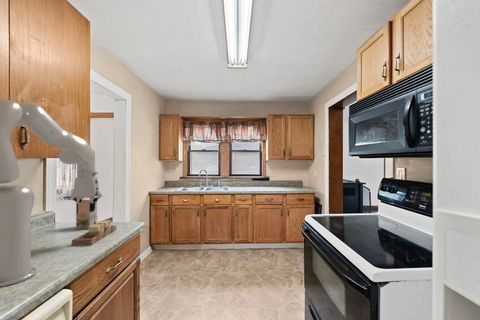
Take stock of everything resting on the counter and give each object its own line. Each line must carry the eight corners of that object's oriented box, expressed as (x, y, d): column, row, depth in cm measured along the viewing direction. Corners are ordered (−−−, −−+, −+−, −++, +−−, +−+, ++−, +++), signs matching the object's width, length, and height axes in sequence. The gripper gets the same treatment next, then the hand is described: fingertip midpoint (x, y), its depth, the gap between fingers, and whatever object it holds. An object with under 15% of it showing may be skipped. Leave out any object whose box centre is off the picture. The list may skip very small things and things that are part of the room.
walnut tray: (91, 245, 114) (91, 232, 114) (71, 245, 113) (71, 232, 113) (116, 229, 139) (116, 219, 139) (100, 230, 138) (100, 219, 138)
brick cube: (88, 213, 116) (88, 202, 116) (78, 213, 116) (78, 202, 116) (94, 210, 121) (94, 200, 121) (84, 211, 121) (84, 201, 121)
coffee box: (75, 229, 141) (75, 201, 141) (83, 226, 148) (83, 199, 148) (90, 229, 140) (89, 201, 140) (97, 226, 147) (97, 200, 147)
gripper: (107, 173, 122) (108, 209, 122) (73, 173, 122) (73, 210, 121) (100, 174, 115) (100, 212, 115) (63, 174, 114) (63, 213, 114)
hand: (86, 210), depth 118 cm, fingers closed on brick cube, 4 cm apart
